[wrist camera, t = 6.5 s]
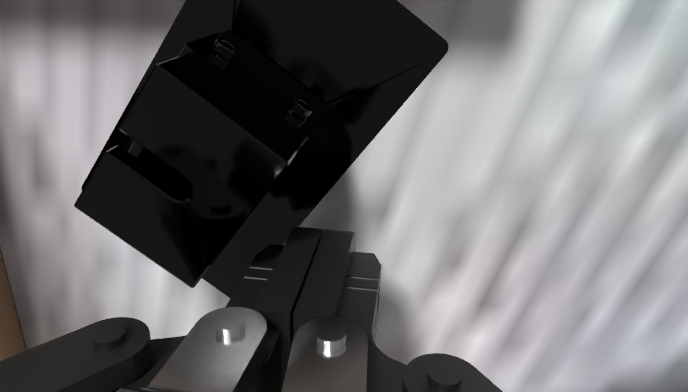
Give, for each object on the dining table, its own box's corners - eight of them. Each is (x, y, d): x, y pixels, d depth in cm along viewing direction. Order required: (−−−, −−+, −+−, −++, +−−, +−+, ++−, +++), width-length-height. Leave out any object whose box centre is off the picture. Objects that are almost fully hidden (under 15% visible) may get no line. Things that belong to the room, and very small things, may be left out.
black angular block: (269, -198, 11) (179, -298, 7) (522, 21, 12) (574, 47, 8) (45, 205, 16) (-89, 288, 12) (241, 340, 17) (183, 461, 13)
